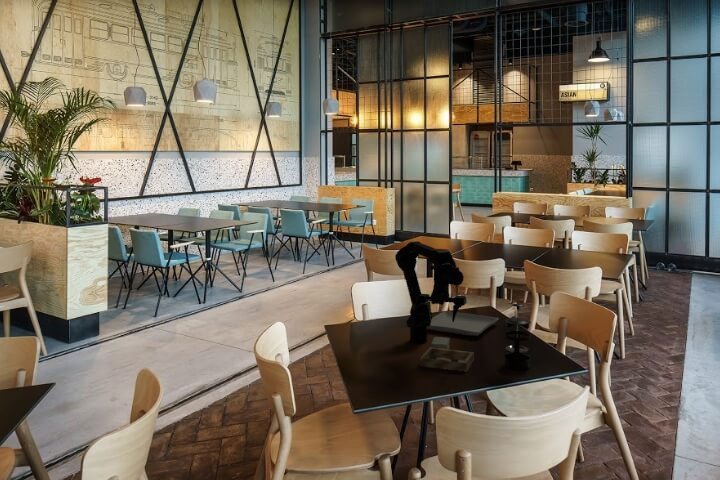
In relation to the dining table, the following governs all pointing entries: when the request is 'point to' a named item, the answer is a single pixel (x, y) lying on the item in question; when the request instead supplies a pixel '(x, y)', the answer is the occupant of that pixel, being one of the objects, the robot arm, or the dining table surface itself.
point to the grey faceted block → (440, 343)
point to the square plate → (461, 323)
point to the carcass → (447, 359)
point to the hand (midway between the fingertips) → (441, 321)
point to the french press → (517, 344)
